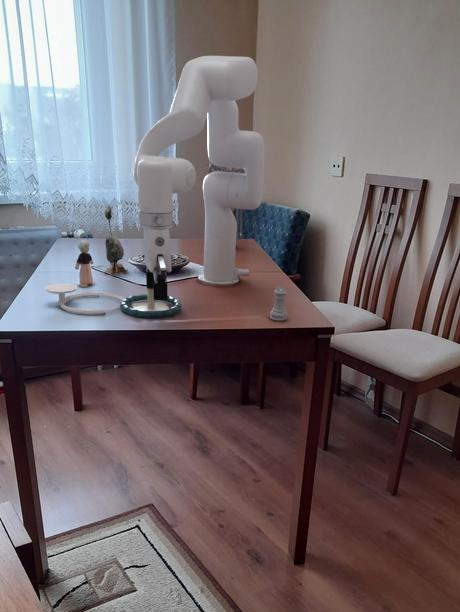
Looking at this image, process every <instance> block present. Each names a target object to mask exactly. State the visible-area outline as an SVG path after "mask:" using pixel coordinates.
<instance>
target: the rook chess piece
mask: <svg viewBox="0 0 460 612" xmlns="http://www.w3.org/2000/svg"><path fill="white" fill-rule="evenodd" d="M273 293H274V295H275V296H274V305H273V307H272V308H271V311H270V313H269V314H270V315H269V318H270V320H271V321H274V322H285V321H286V320H287V319H288V317H287V316H288V313H287V311H286V306H285V301H286V299H287V298H286V295H287V294H288V292H287V288H286V287H284V286H276V287H275V290H274V291H273Z"/></svg>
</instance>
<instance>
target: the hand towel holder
mask: <svg viewBox="0 0 460 612" xmlns="http://www.w3.org/2000/svg"><path fill="white" fill-rule="evenodd" d="M44 289H45V291H46V292H47V293H51V294H55V295H57V294H58V301H57V303H58V305H59V306H60V308H61V309H62V310H64V311H65V312H67V313H68V312H69V313H70V314H76V315H86V316H103V315H107V313H106V312H112V311H117V310H119V309H121V306H120V305H118V306H115V307H112V308H106V309H89V310H88V309H78V308H72V307H69V306H67V305H66V304H67V302H68V301H70V300H74V299H78V298H79V299H80V298H89V297H90V298H91V297H93V298H95V297H101V296H107V297H112V298H116V299H119V300H120V301H121V302H122V301H123V300H124V299H125V298H124V297H122V296H120V295H117V294H114V293H108V292H99V291H98V292H97V291H89V292H88V291H87V292H79V293H77V292H76V291H77V289H78V286H77V285H75V284H72V283H62V282H60V283H58V282H57V283H51V284H48V285H45V286H44ZM74 292H76V293H74ZM71 293H73V294H71ZM66 294H69V295H67V296H66Z"/></svg>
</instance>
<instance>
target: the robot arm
mask: <svg viewBox="0 0 460 612" xmlns="http://www.w3.org/2000/svg"><path fill="white" fill-rule="evenodd" d="M258 80H259V71H258V66H257V64H256V62H255V60H253V58H252V57H250V56H235V55H234V56H231V55H229V56H228V55H202V56H198V57H196V58H193V59H190V60H188V61H187V62H186V63H185V65H184V66H183V68H182V71H181V74H180V77H179V81H178V84H177V86H176V91H175V94H174V97H173V99H172V103H171V106H170V110H169V112H168V113H167V114H165V116H163V117H162V118H160V119H159V120H158V121H157V122H156V123H155V124H153V126H151V128H150V129H148V131H147V132H146V133H145V134H144V135H143V137H142V139H141V140H140V143H139V145H138V149H137V153H136V156H135V159H134V164H133V171H132V172H133V180H134V182H135V184H136V185H137V201H138V226H139V227H140V228H142V229H143V258H144V265H145V266H146V267H145V268H146V272H145V282H146V285H145V286H146V290H147V289H153V297H154V300H155V301H159V300H167V298H168V296H169V295H168V275H167V273H171V272H172V270H173V269H172V246H171V234H170V229H172V228H173V194H180V195H181V194H186V193H188V192H190V191H191V190H192V189H193V188H194V185H195V183H196V179H197V173H196V169H195V166H194V164H192V163H191V162H190V161H189V160H187V159H185V158H180V157H169V156H161V154H162V152H164V151H165V150H166V149H168V148H169V147H171V146H173V145H175V144H178V143H181V142H184V141H185V140H189V139H190V138H193V137H196V136H198V135H199V134H200V133H201V132H202V131H203V129H204V127H205V124H206V121H207V156H208V160H209V163H210V162H211V163H210V164H213V165H215V166H216V167H217V166H220V167H219V168H222V167H227V168H229V169H231V168H234V169H240V168H241V169H244V170H245V172H243V173H240V172H237V173H235V171H233V172H222V171H223V170H221V171H219V170H218V171H212V173H210V174H209V173H208V174H207V175H206V176H205V177H204V179H203V182H202V193H203V202H204V244H203V245H204V247H203V274H200V275H199V276H198V281H200V282H202V283H205V284H210V285H224V286H225V285H234V284H237V283H239V281H240V279H239V278H240V277H249V276H250V270H249V269H243V268H237V267H236V266H235V264H236V248H237V242H236V236H237V233H236V232H237V222H236V216H235V215H234V213H233V211H232V209H236V210H237V209H238V210H240V209H242V210H248V211H249V210H250V211H253V210H256V209H258V208H259V207H260V206H261V204H262V201H263V197H264V184H265V183H264V180H265V157H266V155H265V154H266V152H265V151H266V148H265V142H264V138H263V136H262V135H261V134H260V133H259V132H257V131H253V130H240V127H239V126H240V125H239V124H240V123H239V117H240V115H239V113H240V112H239V107H238V104H237V102H236V101H239V100H242V99H245V98H248V97H250V96H251V95H252V94H253V93H254V91H255V90H256V87H257V84H258ZM245 173H246V174H245Z"/></svg>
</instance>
